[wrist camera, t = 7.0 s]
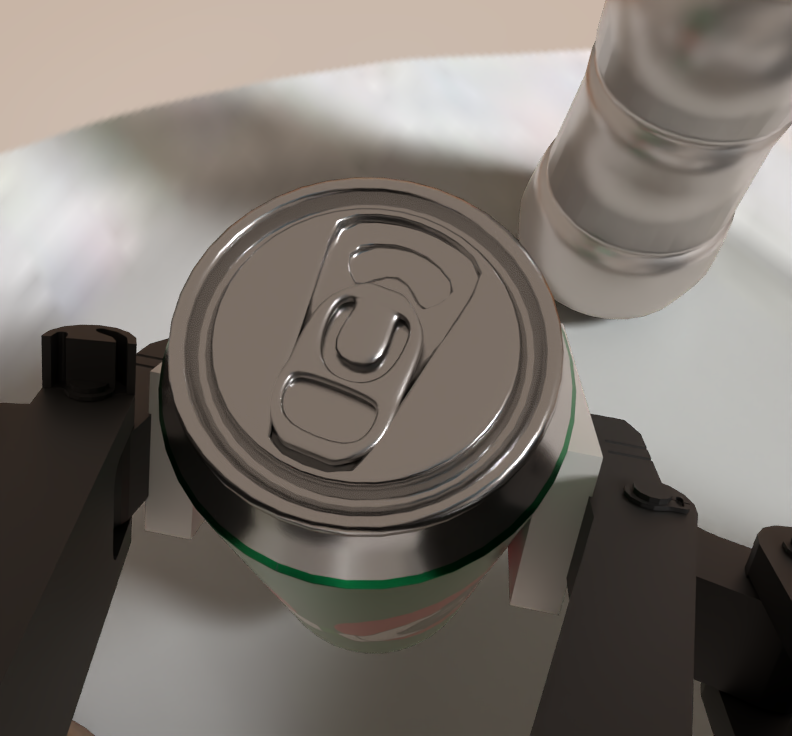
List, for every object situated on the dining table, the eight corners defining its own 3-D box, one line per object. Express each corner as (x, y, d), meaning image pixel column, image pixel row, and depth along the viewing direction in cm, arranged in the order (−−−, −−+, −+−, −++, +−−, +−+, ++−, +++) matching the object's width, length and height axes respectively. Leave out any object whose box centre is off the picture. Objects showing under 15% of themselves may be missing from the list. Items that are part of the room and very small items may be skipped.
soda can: (501, 496, 20) (652, 230, 9) (432, 690, 18) (513, 661, 7) (326, 426, 20) (262, 100, 9) (240, 604, 18) (33, 454, 7)
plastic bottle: (719, 315, 27) (1503, -534, 8) (543, 363, 26) (998, -489, 7) (643, 173, 29) (1119, -723, 11) (479, 212, 28) (700, -709, 10)
